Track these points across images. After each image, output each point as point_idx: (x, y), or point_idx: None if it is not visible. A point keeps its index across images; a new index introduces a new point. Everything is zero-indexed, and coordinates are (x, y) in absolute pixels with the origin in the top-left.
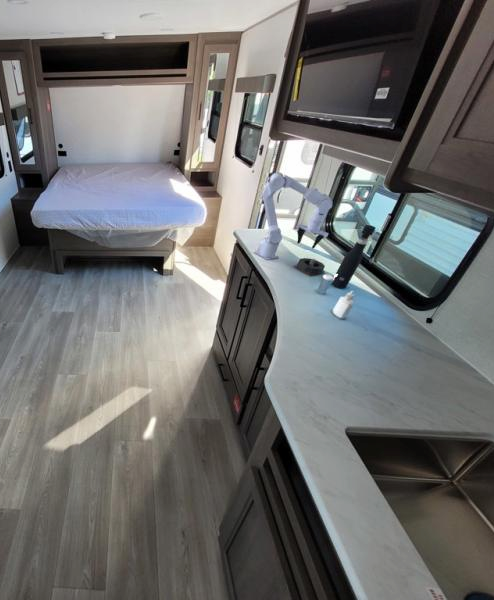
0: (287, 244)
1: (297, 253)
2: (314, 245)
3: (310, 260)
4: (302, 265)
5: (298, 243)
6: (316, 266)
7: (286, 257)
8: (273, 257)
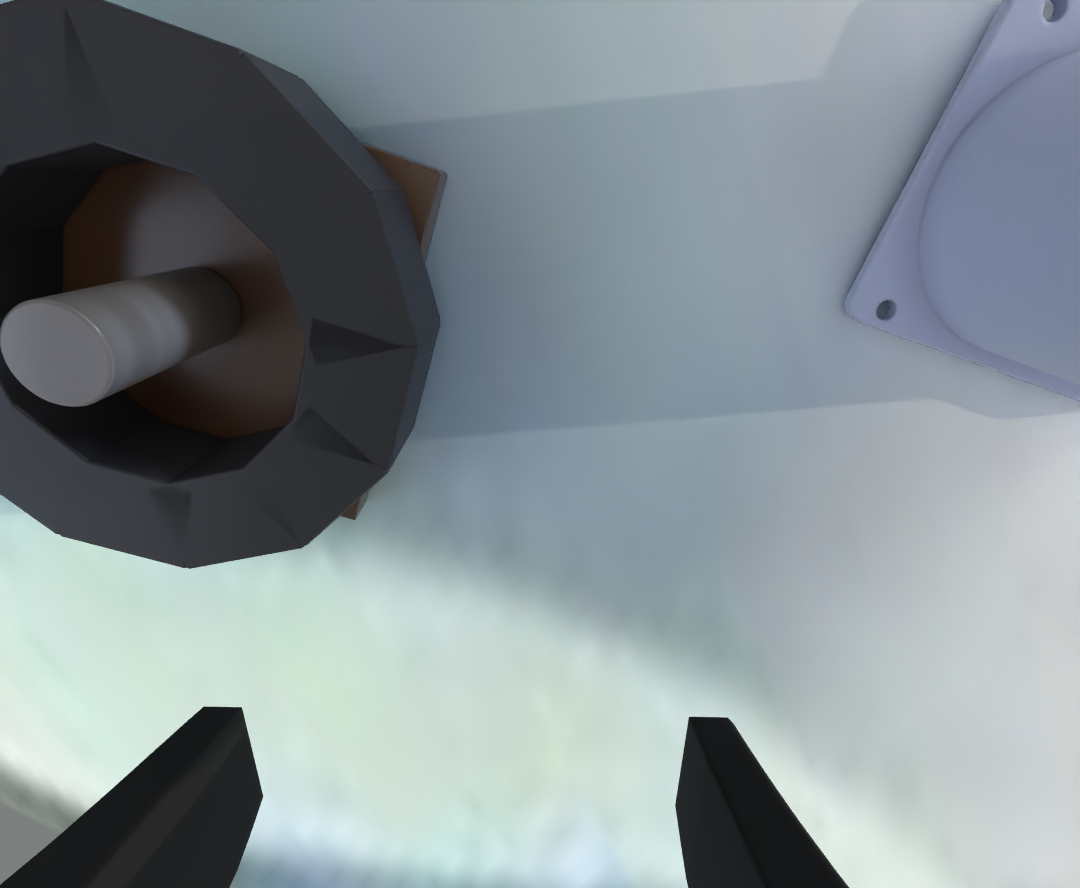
0: (845, 865)
1: (640, 728)
2: (97, 809)
3: (248, 460)
4: (199, 35)
5: (688, 723)
6: (139, 429)
7: (715, 473)
8: (922, 204)
